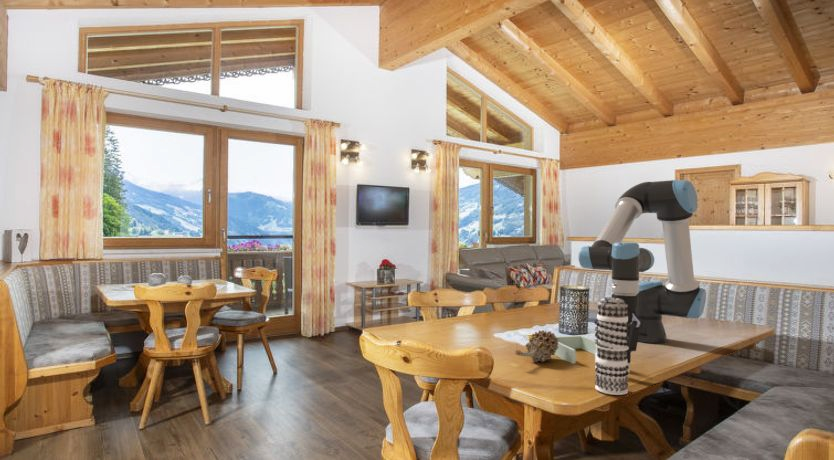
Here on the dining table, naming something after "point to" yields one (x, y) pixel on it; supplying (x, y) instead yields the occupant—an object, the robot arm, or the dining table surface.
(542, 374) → the dining table surface
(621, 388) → the decorative candle
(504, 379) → the dining table surface
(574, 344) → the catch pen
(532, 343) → the pine cone
